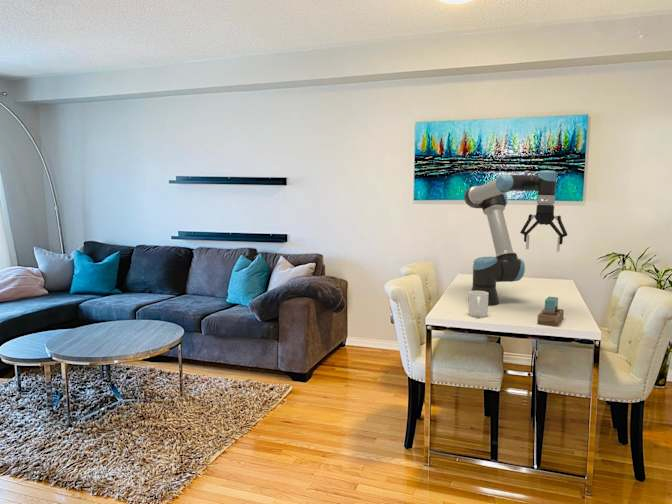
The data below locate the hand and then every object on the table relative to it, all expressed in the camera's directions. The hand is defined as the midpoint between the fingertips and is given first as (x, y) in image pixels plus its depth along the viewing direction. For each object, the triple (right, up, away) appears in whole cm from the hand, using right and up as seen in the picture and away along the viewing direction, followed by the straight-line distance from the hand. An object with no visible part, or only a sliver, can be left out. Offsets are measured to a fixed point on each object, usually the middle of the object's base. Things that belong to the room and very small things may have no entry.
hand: (542, 250), depth 241 cm
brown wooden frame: (-1, -31, -12) cm, 34 cm away
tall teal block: (-1, -31, -12) cm, 34 cm away
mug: (-31, -30, -4) cm, 44 cm away
